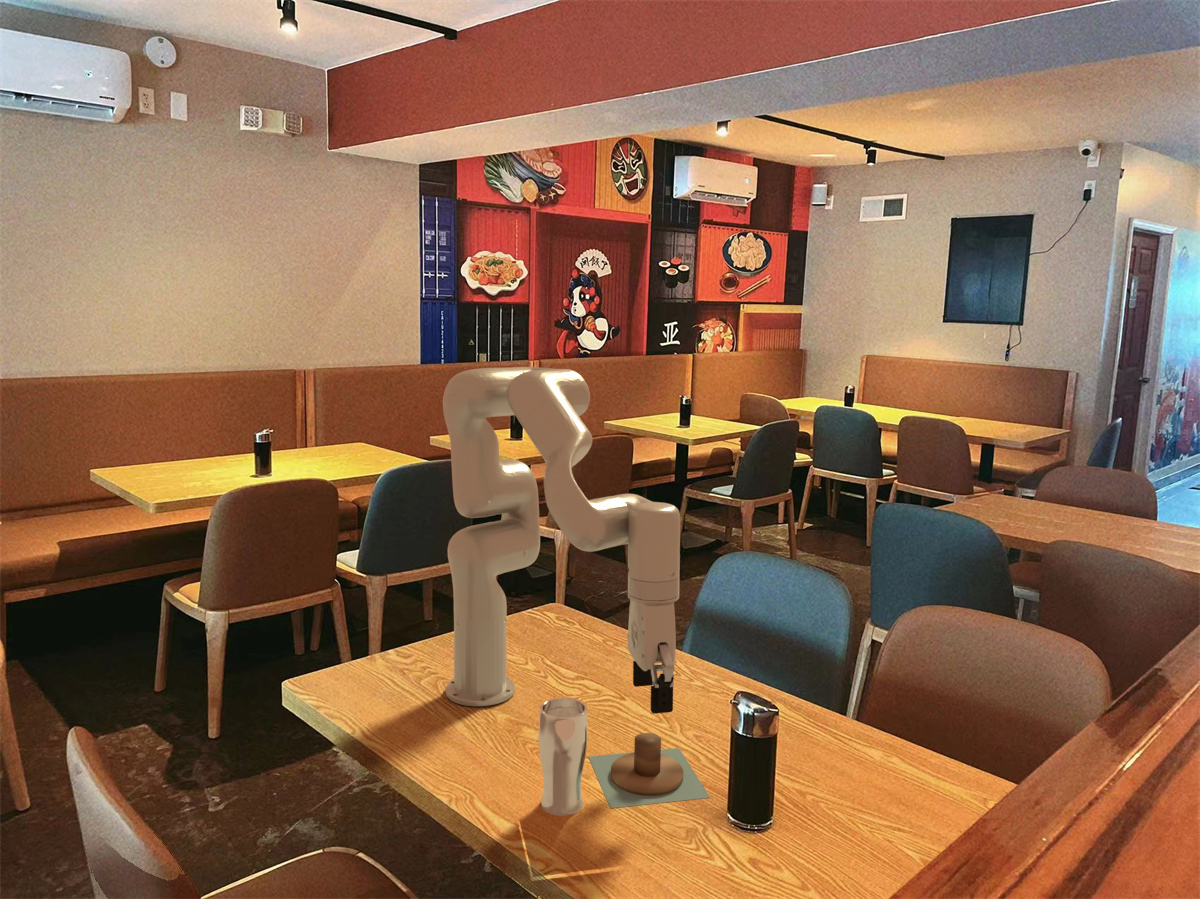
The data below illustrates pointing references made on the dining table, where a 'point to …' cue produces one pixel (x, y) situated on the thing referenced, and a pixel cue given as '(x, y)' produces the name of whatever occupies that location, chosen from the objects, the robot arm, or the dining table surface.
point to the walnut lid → (647, 769)
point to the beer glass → (562, 754)
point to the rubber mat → (621, 798)
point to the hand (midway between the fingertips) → (652, 698)
